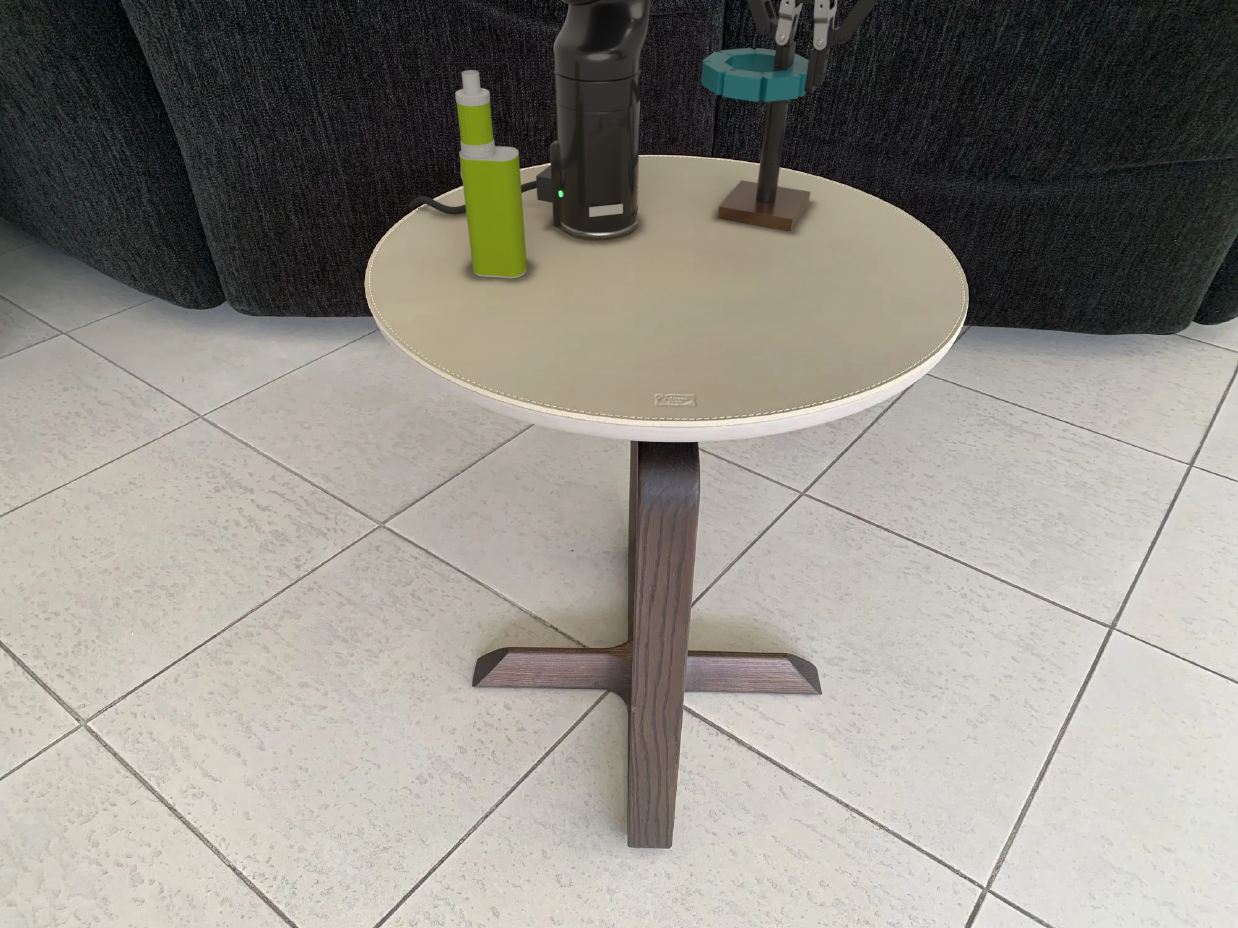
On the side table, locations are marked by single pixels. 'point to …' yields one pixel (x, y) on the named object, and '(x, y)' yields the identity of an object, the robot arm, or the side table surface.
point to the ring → (753, 75)
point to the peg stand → (767, 183)
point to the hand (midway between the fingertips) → (796, 87)
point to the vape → (489, 187)
